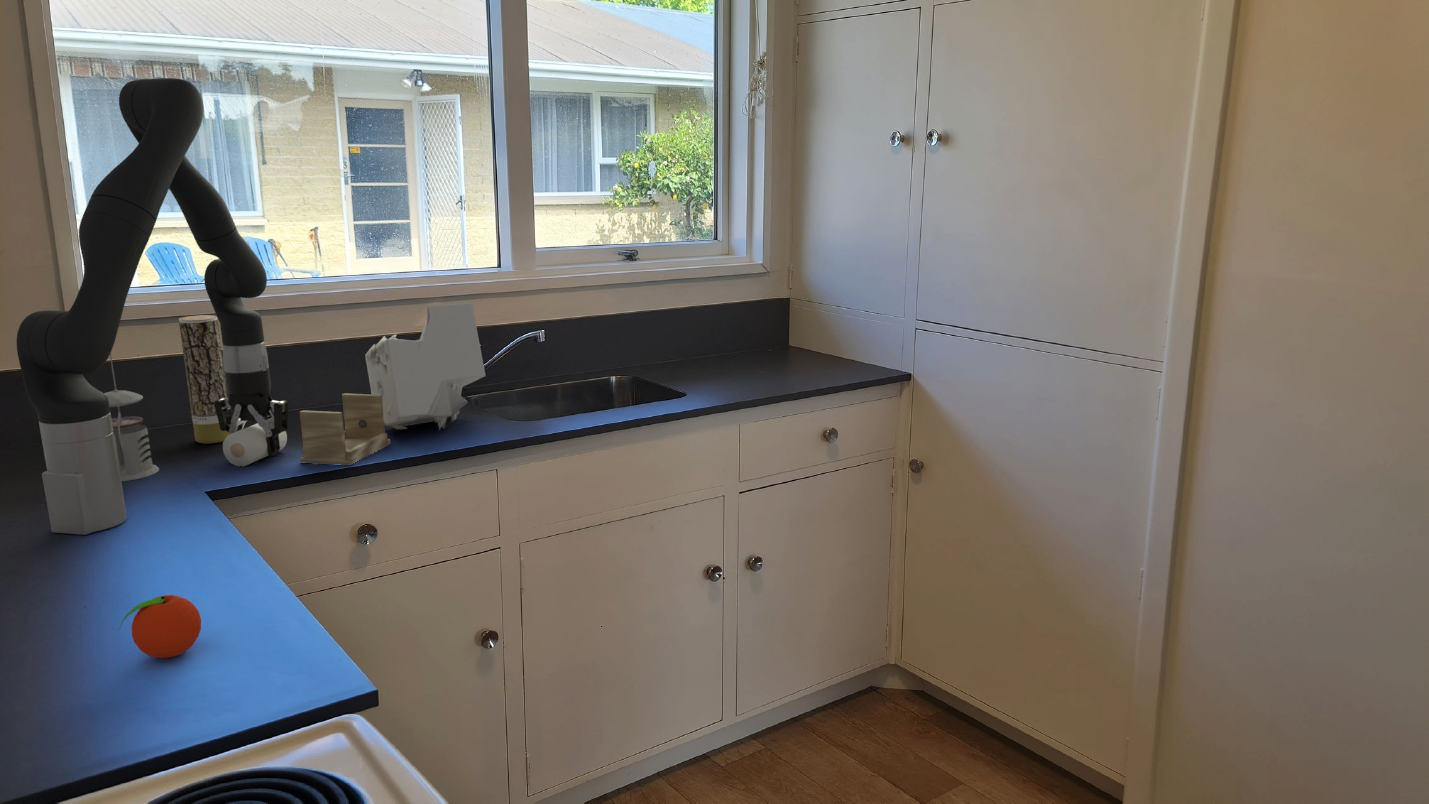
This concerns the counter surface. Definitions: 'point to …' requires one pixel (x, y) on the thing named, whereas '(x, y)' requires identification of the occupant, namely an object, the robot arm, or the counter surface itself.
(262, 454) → the roll
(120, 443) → the french press
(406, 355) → the white jagged block
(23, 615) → the counter surface
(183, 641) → the clementine
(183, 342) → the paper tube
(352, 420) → the holder
